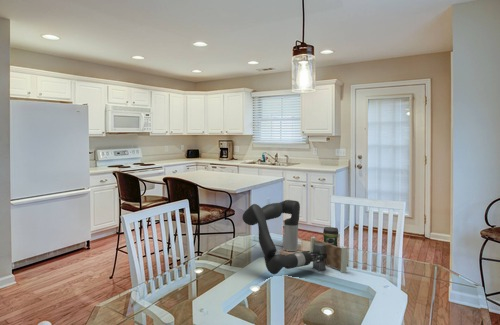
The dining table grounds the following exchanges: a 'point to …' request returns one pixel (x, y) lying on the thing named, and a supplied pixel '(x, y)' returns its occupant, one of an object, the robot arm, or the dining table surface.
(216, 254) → the dining table surface
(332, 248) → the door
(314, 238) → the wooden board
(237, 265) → the dining table surface
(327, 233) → the coffee jar
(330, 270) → the dining table surface
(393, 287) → the dining table surface
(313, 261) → the robot arm
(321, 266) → the iron block
